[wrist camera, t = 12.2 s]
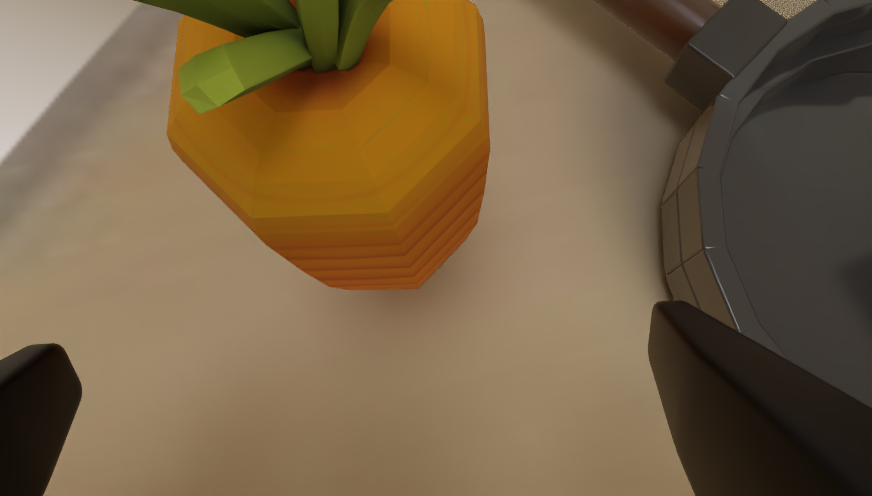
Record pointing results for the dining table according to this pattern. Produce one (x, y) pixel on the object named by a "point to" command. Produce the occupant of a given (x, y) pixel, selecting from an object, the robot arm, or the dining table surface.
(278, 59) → the carrot
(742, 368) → the robot arm
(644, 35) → the pan handle
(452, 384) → the dining table surface
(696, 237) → the pan
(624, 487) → the dining table surface
